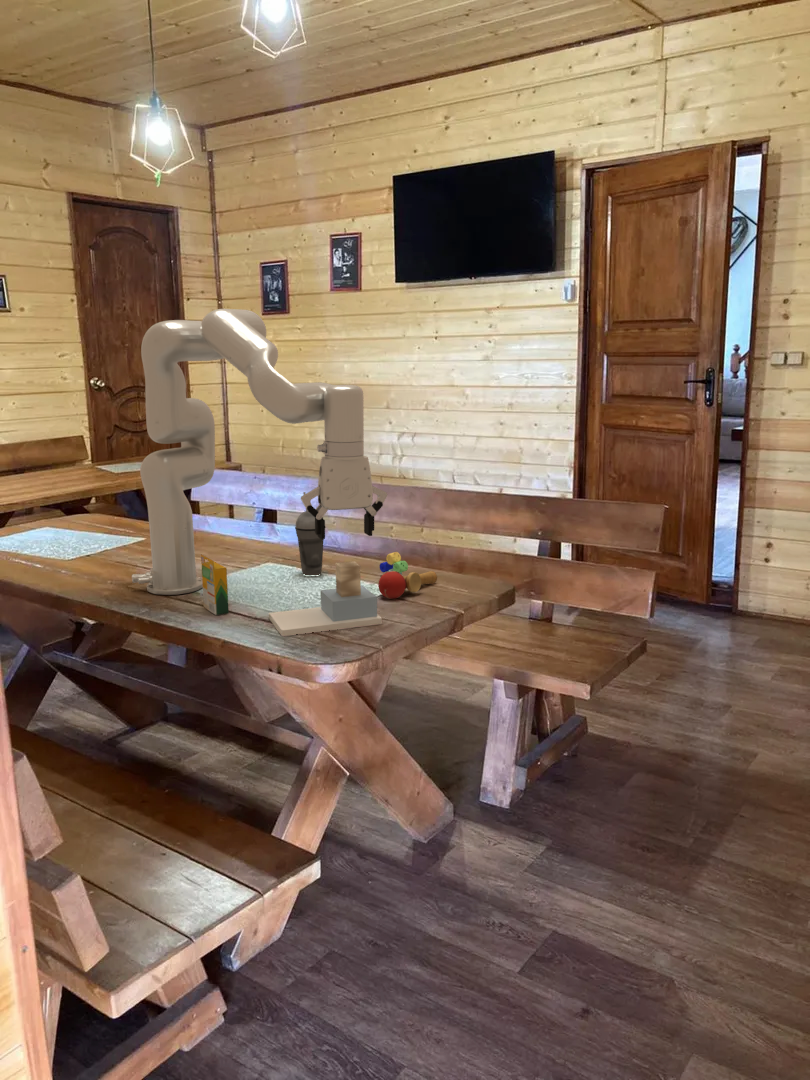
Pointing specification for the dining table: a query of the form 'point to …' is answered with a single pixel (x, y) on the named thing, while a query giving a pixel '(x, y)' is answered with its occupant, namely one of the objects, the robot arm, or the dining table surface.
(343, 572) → the birch block
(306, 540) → the beverage cup
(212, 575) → the crayon box
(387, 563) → the dice
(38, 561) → the dining table surface
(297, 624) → the baseplate
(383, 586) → the kendama
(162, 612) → the dining table surface
